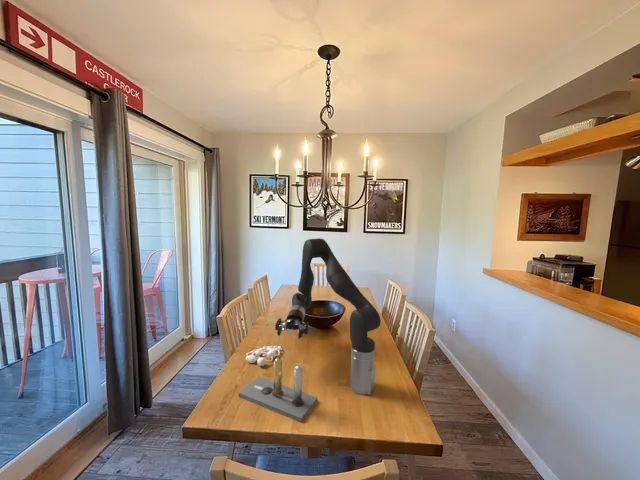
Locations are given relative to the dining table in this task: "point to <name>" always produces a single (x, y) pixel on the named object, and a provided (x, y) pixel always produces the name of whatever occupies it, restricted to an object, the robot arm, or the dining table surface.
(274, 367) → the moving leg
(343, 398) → the dining table surface
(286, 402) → the board
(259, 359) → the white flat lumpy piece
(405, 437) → the dining table surface
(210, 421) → the dining table surface
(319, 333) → the dining table surface
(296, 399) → the fixed leg
